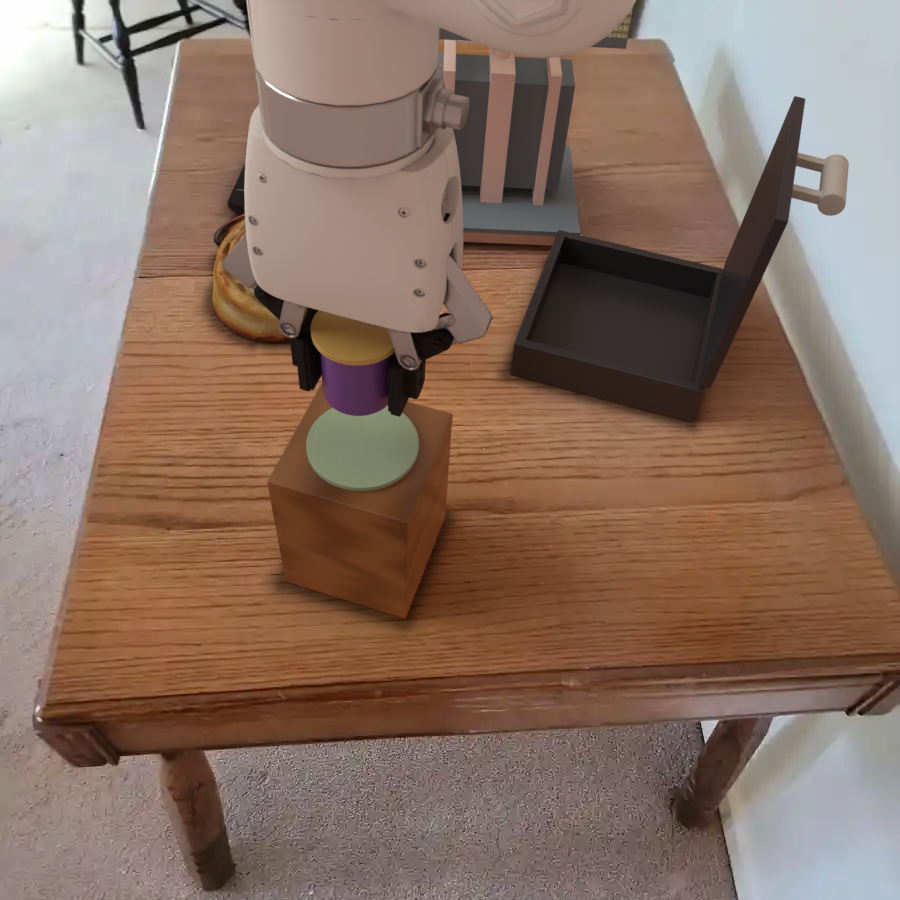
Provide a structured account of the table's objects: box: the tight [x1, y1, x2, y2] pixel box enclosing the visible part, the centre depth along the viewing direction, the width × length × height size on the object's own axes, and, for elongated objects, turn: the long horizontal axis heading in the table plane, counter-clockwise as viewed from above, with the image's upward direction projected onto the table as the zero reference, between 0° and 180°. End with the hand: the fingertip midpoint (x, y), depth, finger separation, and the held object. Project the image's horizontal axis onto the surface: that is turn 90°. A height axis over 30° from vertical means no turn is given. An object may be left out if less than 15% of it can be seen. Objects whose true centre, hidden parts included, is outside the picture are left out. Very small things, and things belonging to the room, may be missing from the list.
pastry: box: [211, 214, 290, 343], centre depth 81 cm, size 13×15×8 cm
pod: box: [311, 310, 395, 416], centre depth 52 cm, size 5×5×5 cm
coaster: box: [306, 405, 419, 491], centre depth 58 cm, size 7×7×1 cm
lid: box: [700, 95, 850, 390], centre depth 71 cm, size 16×16×5 cm
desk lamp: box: [438, 6, 634, 247], centre depth 80 cm, size 18×14×33 cm
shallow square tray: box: [509, 230, 724, 423], centre depth 81 cm, size 16×16×4 cm
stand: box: [267, 383, 454, 619], centre depth 63 cm, size 9×9×12 cm
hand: (359, 383), depth 53 cm, fingers closed on pod, 4 cm apart
